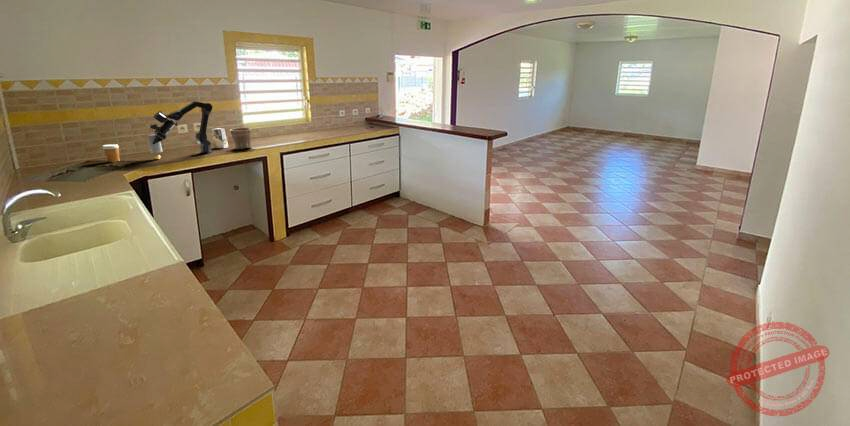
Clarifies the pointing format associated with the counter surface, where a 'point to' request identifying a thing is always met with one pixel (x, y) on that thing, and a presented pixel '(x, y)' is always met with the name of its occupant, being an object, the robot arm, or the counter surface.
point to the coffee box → (219, 138)
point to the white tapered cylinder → (154, 147)
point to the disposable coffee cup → (112, 152)
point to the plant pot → (241, 137)
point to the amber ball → (157, 156)
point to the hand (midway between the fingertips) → (152, 143)
